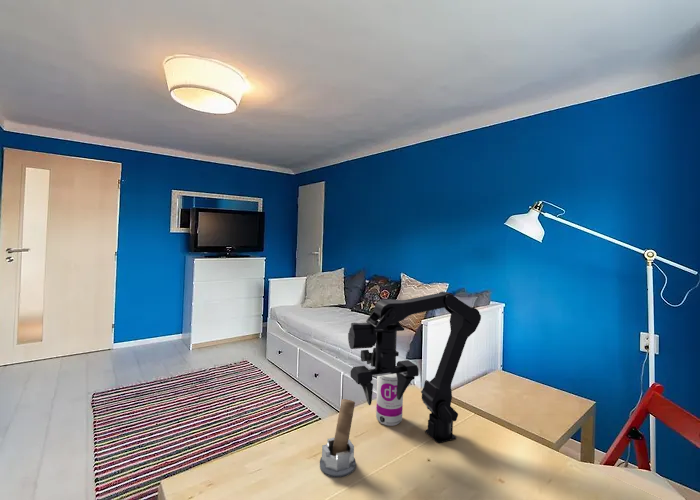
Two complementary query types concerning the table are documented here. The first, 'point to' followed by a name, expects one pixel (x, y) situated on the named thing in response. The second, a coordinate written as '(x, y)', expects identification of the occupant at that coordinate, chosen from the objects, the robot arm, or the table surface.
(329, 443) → the flanged castle nut
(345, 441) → the walnut pin
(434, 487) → the table surface
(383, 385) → the supplement can
